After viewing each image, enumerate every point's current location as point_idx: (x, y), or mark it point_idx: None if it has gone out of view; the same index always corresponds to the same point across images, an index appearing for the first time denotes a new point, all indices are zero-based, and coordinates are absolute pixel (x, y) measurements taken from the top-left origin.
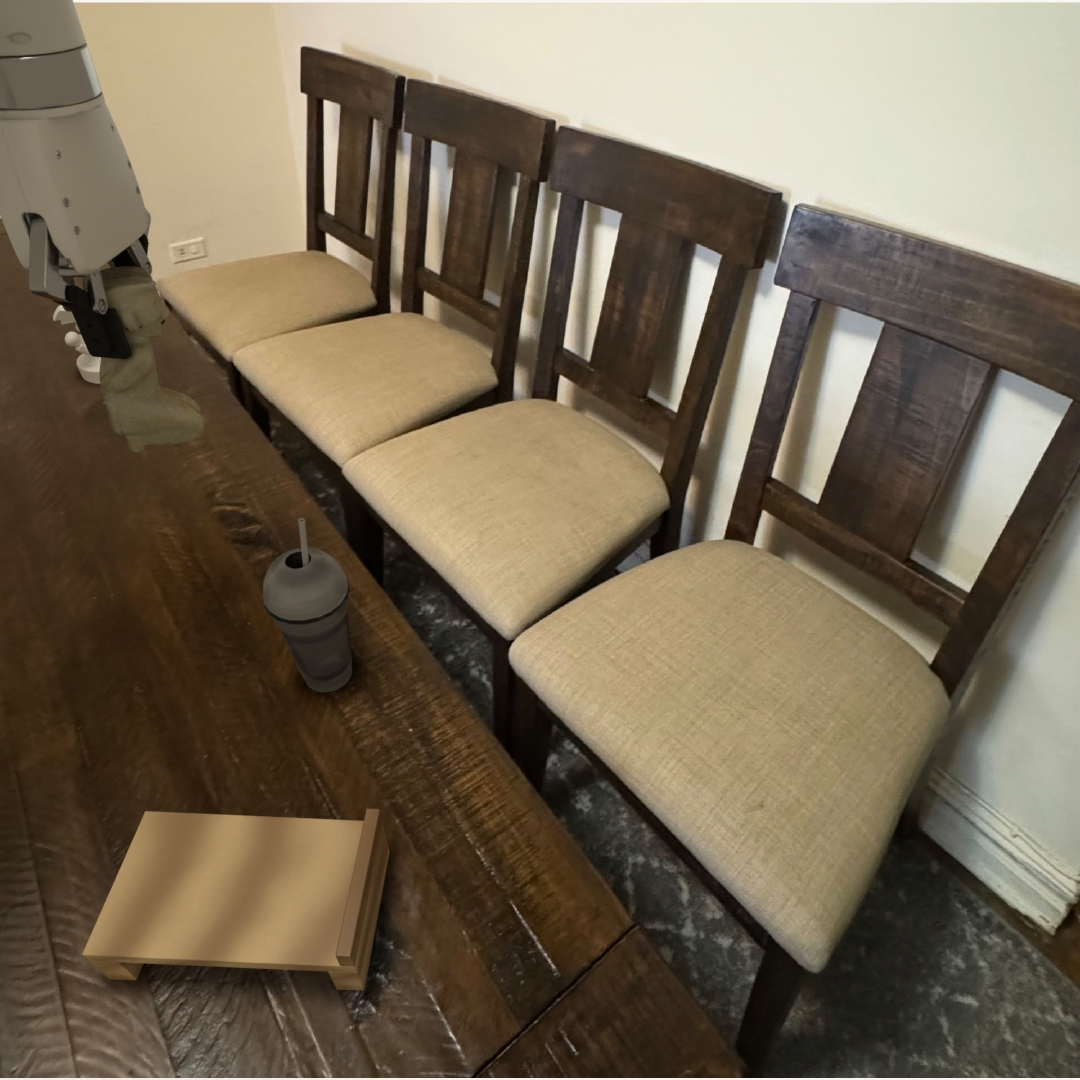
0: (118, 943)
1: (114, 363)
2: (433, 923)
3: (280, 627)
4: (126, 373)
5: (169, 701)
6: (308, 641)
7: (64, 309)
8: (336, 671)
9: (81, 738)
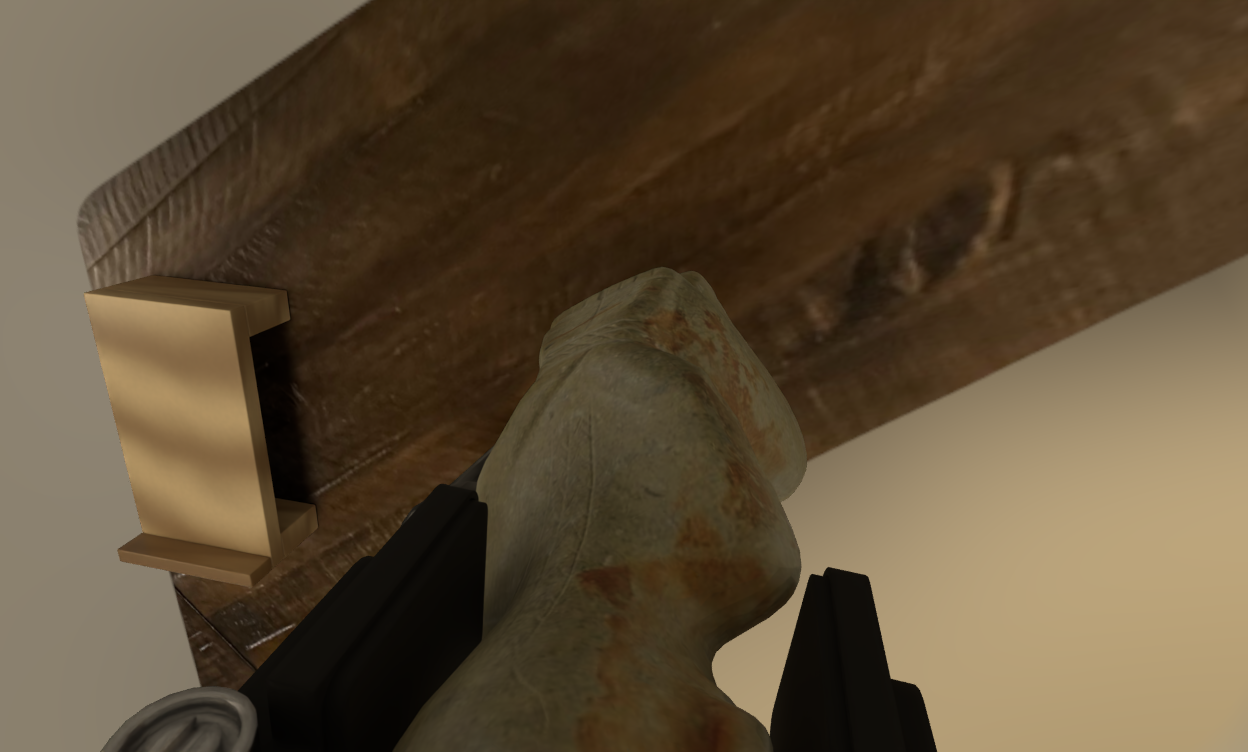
0: (101, 328)
1: (508, 521)
2: None
3: None
4: None
5: (477, 230)
6: None
7: (151, 704)
8: None
9: (402, 113)
